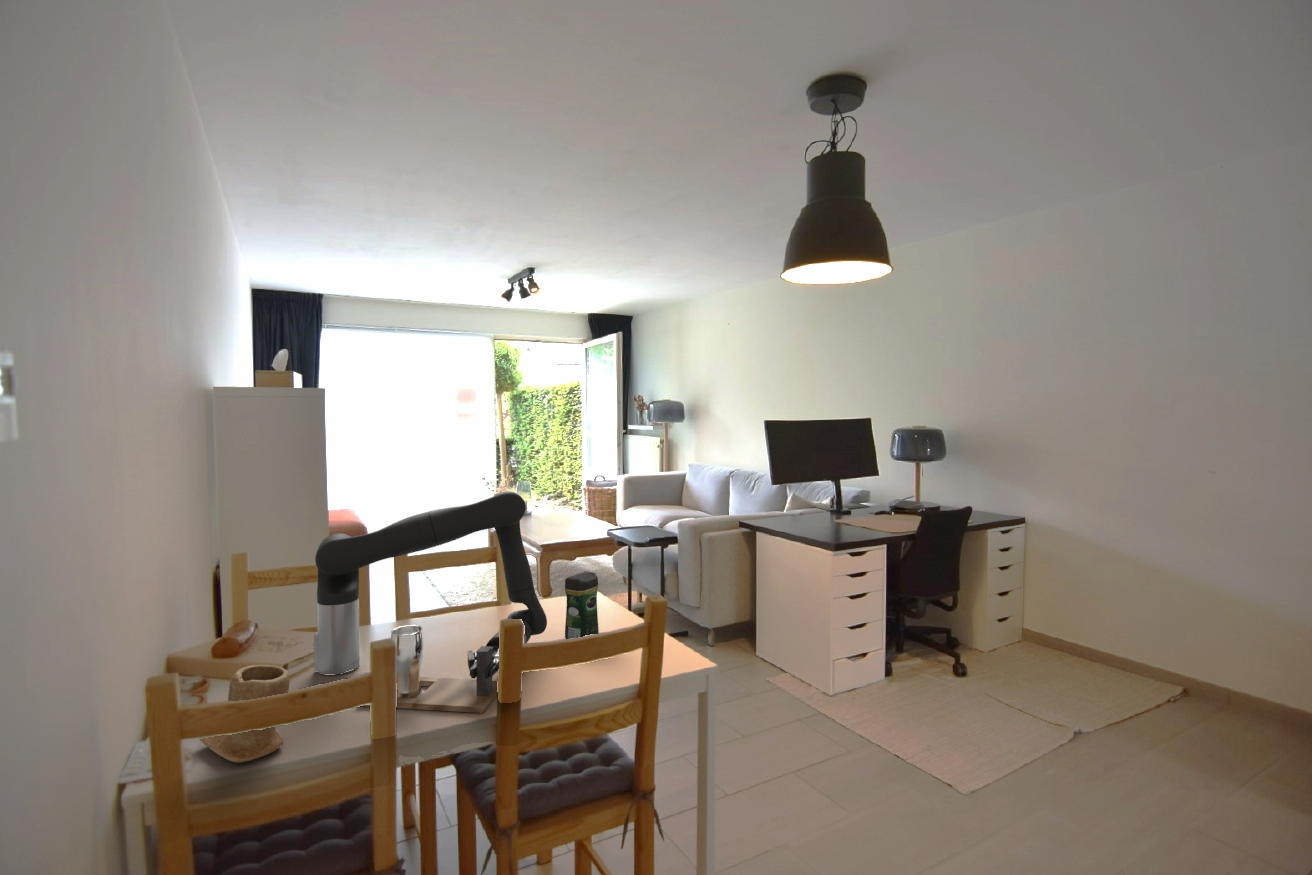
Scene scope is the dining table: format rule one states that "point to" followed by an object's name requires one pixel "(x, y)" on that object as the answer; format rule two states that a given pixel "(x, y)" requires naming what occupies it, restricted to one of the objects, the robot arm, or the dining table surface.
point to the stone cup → (246, 687)
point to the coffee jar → (581, 605)
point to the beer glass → (408, 660)
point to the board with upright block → (457, 690)
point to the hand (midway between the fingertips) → (479, 674)
